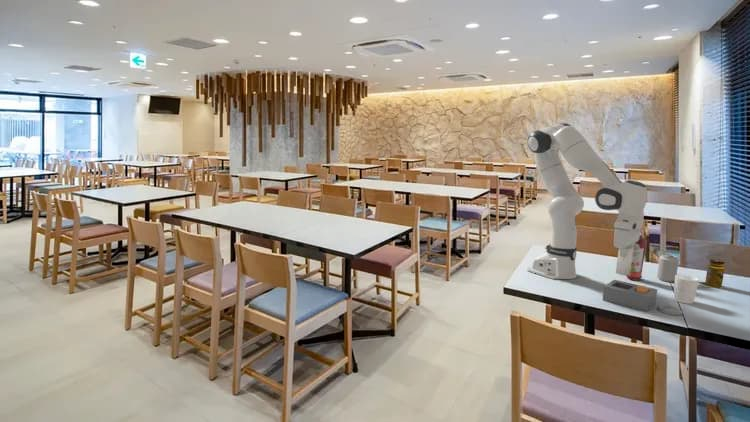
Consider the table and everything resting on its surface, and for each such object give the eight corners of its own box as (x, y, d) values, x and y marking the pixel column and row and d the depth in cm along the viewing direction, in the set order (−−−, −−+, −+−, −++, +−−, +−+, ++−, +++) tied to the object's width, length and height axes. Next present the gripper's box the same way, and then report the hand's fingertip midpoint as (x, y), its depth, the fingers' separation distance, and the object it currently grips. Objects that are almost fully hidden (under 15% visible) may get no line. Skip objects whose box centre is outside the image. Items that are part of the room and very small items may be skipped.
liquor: (644, 279, 206) (651, 220, 202) (639, 282, 202) (646, 222, 197) (627, 275, 212) (634, 218, 207) (622, 278, 207) (628, 220, 202)
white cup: (672, 296, 185) (675, 273, 183) (695, 300, 181) (698, 276, 179) (671, 301, 179) (674, 278, 177) (695, 306, 174) (699, 282, 172)
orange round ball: (634, 297, 175) (635, 286, 174) (636, 295, 177) (638, 284, 176) (644, 300, 172) (646, 289, 171) (647, 297, 174) (648, 287, 174)
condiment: (725, 289, 194) (729, 263, 192) (703, 287, 197) (706, 261, 194) (718, 284, 201) (722, 258, 199) (696, 282, 203) (700, 257, 201)
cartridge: (614, 273, 178) (617, 244, 176) (618, 270, 182) (621, 242, 180) (627, 276, 175) (631, 247, 173) (631, 273, 178) (635, 245, 176)
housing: (602, 300, 179) (604, 286, 178) (612, 293, 188) (614, 279, 187) (646, 311, 168) (648, 296, 167) (655, 303, 176) (657, 289, 175)
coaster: (655, 311, 169) (655, 309, 169) (660, 305, 174) (660, 304, 174) (679, 317, 163) (679, 315, 163) (684, 311, 169) (685, 310, 168)
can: (678, 283, 202) (682, 257, 199) (660, 281, 203) (664, 256, 201) (671, 277, 209) (674, 253, 207) (654, 276, 210) (657, 252, 208)
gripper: (629, 217, 184) (624, 249, 186) (612, 223, 170) (607, 258, 172) (646, 219, 179) (641, 252, 182) (630, 226, 165) (625, 261, 168)
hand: (625, 255), depth 177 cm, fingers closed on cartridge, 5 cm apart
